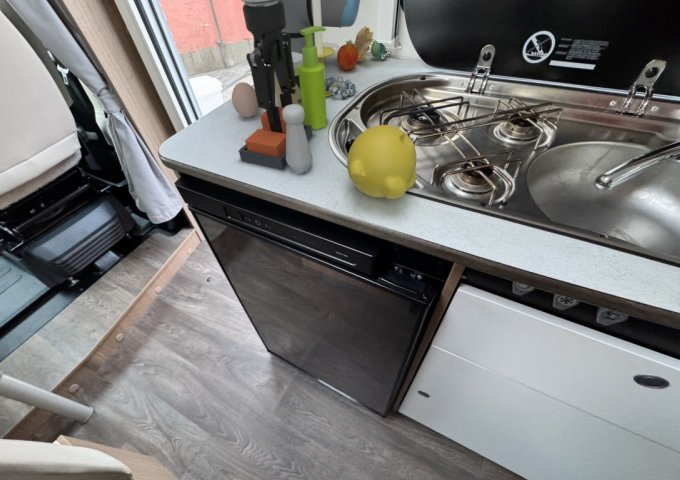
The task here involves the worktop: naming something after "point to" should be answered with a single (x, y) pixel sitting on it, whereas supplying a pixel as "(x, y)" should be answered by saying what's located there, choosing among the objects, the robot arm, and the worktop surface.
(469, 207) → the worktop surface
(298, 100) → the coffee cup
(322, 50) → the yellow disc white stick
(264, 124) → the loose pad
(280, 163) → the pad frame
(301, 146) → the salt shaker
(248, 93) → the egg
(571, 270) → the worktop surface
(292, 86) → the robot arm
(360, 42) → the cartoon bug character
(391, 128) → the sculpture
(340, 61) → the fruit
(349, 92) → the bracelet
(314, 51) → the soap dispenser
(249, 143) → the seated pad
